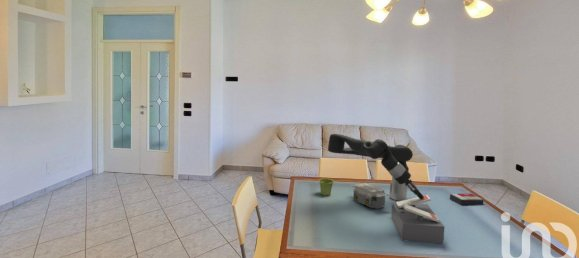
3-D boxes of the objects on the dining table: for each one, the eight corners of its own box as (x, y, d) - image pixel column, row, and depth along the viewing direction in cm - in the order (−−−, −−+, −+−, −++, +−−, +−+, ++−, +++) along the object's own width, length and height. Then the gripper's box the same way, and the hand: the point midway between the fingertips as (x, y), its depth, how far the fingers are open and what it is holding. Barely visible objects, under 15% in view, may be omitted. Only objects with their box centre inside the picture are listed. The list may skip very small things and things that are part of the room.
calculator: (484, 199, 204) (461, 198, 202) (483, 206, 205) (460, 205, 202) (471, 193, 215) (450, 192, 212) (470, 199, 216) (449, 199, 213)
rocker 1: (396, 203, 178) (396, 201, 178) (427, 196, 176) (427, 194, 176) (398, 208, 172) (398, 206, 172) (430, 200, 170) (430, 198, 170)
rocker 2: (402, 205, 163) (403, 203, 163) (434, 217, 162) (435, 215, 161) (405, 209, 157) (405, 207, 157) (438, 222, 156) (439, 220, 156)
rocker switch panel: (391, 216, 183) (392, 197, 182) (426, 218, 181) (427, 200, 179) (401, 240, 155) (403, 218, 154) (443, 243, 153) (445, 221, 152)
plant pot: (334, 192, 219) (335, 179, 218) (331, 197, 211) (332, 183, 209) (320, 190, 222) (320, 178, 221) (316, 195, 214) (317, 181, 212)
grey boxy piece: (375, 212, 186) (376, 194, 186) (347, 198, 213) (347, 183, 212) (392, 209, 191) (393, 192, 190) (362, 196, 217) (362, 181, 216)
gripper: (391, 174, 180) (413, 198, 180) (395, 181, 167) (419, 207, 167) (402, 164, 178) (424, 189, 179) (407, 171, 165) (431, 197, 166)
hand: (422, 197), depth 173 cm, fingers closed
